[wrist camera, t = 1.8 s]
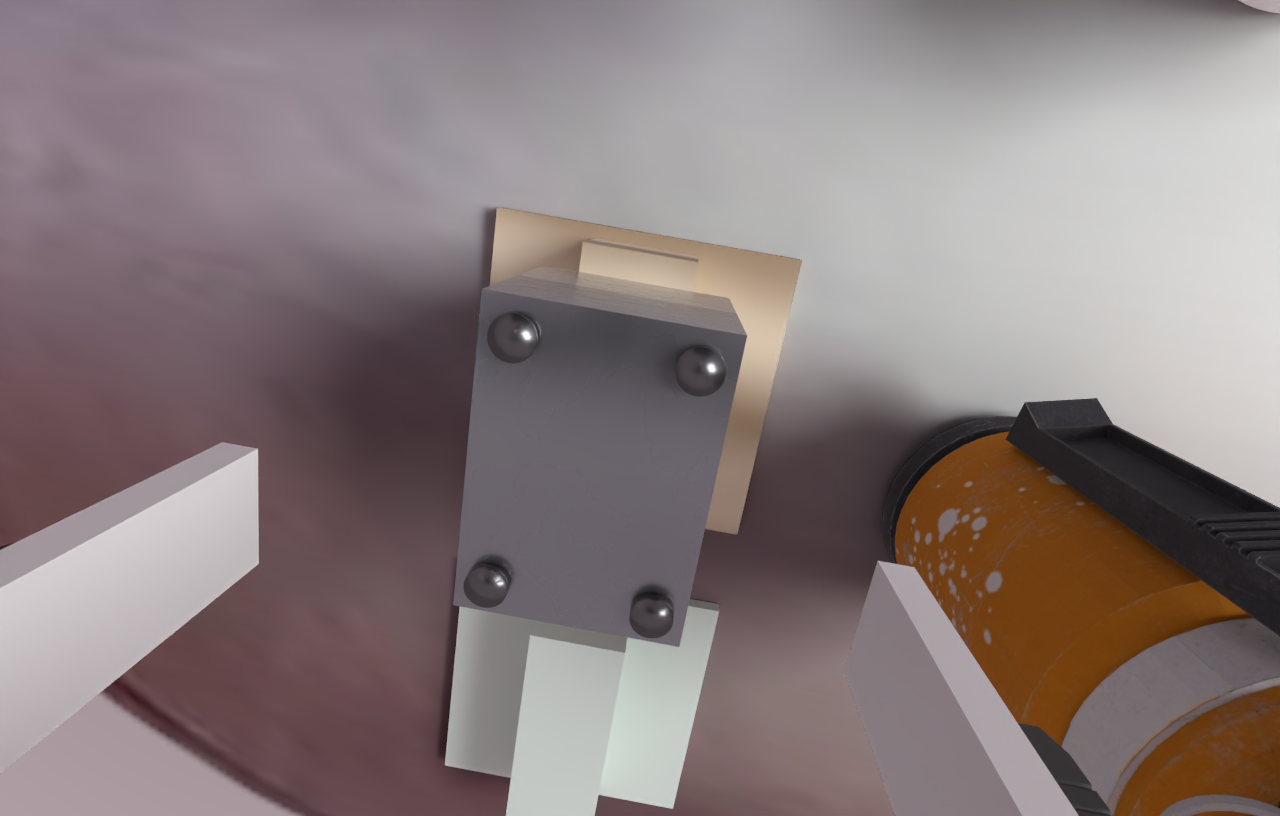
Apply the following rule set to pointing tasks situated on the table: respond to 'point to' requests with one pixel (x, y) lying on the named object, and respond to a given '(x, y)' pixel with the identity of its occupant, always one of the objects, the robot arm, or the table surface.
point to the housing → (594, 450)
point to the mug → (1264, 5)
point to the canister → (1108, 601)
